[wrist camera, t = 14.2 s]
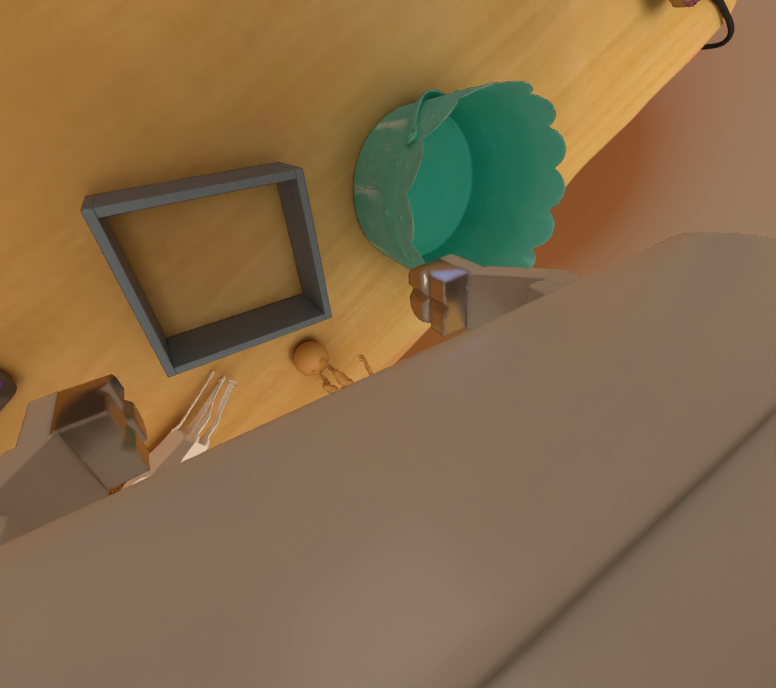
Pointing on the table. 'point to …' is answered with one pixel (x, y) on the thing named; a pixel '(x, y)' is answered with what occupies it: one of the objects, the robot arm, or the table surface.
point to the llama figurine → (186, 435)
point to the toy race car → (6, 389)
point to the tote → (241, 328)
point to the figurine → (321, 364)
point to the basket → (462, 177)
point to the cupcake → (683, 3)
